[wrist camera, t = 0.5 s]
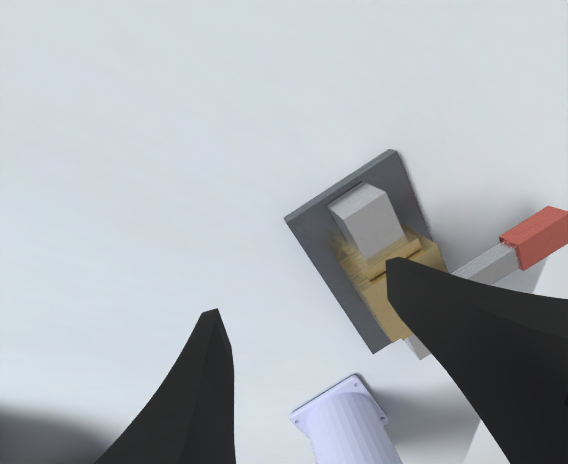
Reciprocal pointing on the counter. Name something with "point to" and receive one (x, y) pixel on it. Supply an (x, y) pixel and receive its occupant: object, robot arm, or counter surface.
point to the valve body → (367, 245)
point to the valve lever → (519, 247)
